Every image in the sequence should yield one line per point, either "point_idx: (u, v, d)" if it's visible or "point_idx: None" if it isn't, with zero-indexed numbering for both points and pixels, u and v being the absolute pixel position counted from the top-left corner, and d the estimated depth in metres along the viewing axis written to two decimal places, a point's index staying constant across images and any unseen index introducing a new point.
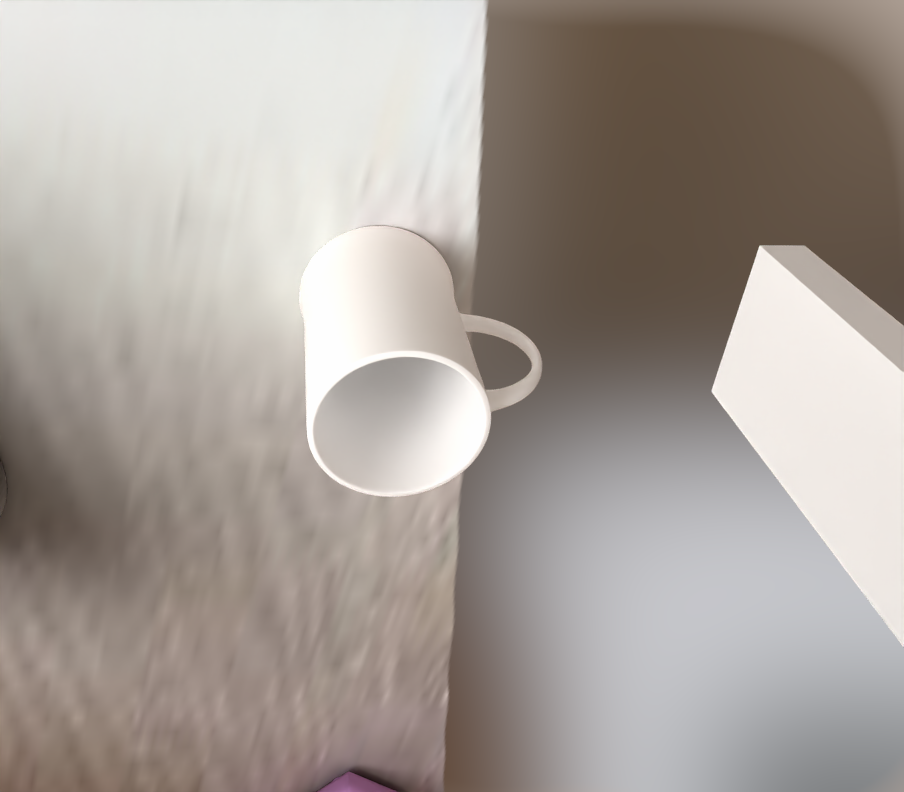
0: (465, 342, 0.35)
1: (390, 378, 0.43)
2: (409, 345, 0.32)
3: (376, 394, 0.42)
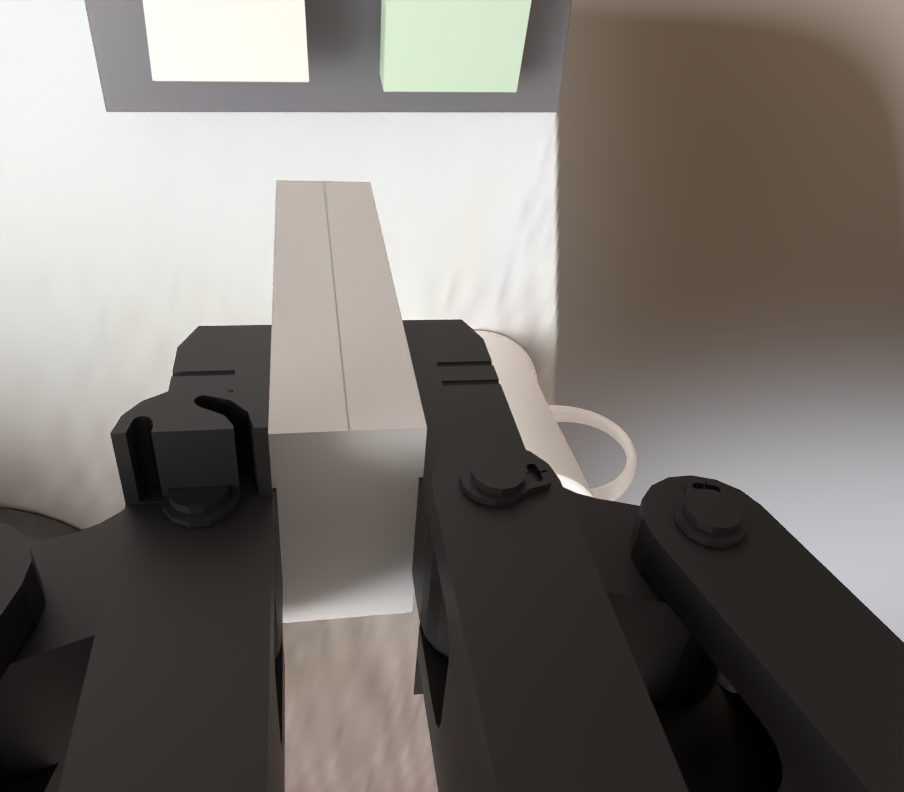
0: (566, 447, 0.37)
1: None
2: None
3: None
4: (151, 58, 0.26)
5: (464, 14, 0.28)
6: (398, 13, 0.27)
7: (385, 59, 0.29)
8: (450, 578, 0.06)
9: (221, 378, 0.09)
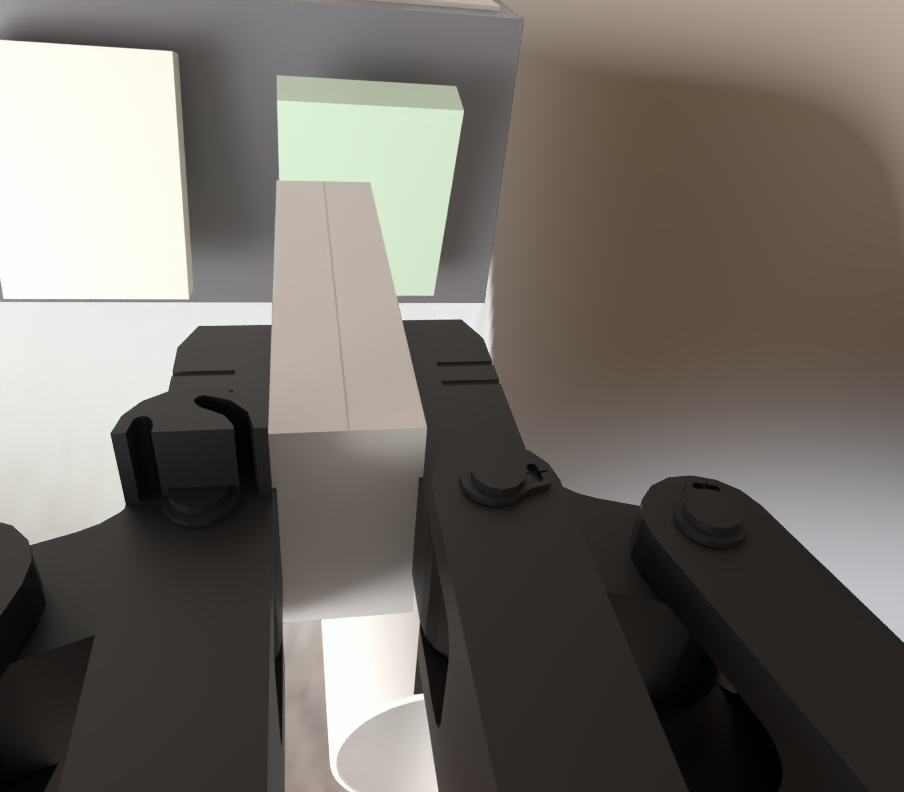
0: None
1: None
2: None
3: None
4: (1, 276, 0.23)
5: None
6: None
7: None
8: (451, 578, 0.06)
9: (221, 378, 0.09)
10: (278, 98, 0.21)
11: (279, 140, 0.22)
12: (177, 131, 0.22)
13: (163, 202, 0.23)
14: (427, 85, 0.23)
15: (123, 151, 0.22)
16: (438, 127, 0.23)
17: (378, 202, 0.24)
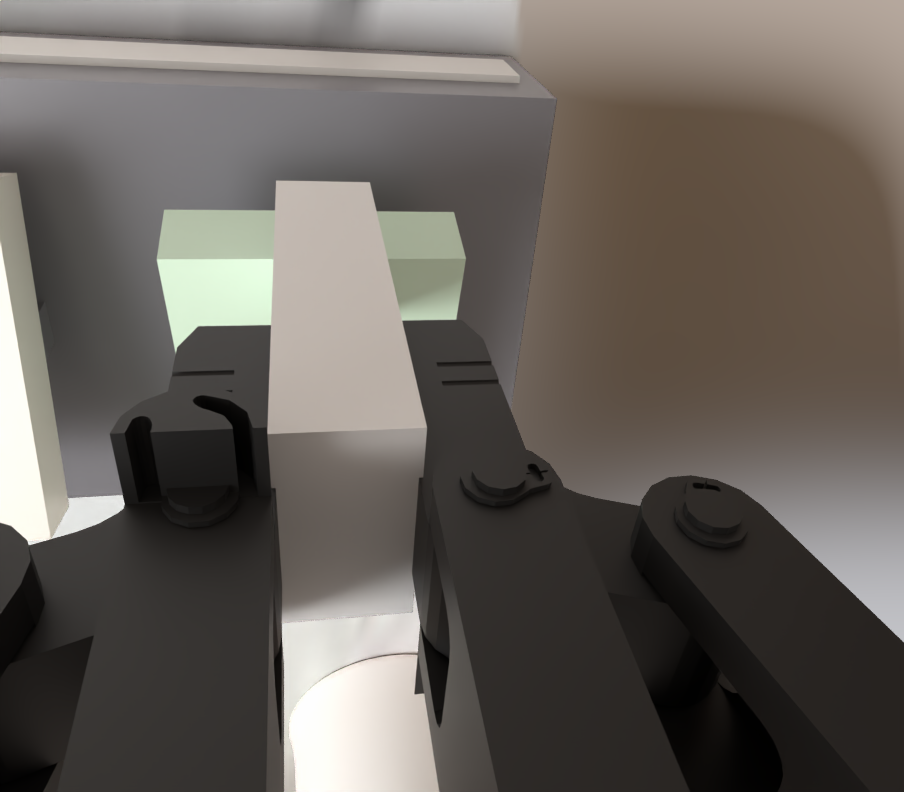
0: None
1: None
2: None
3: None
4: None
5: None
6: None
7: None
8: (451, 578, 0.06)
9: (221, 378, 0.09)
10: (159, 255, 0.13)
11: (170, 313, 0.14)
12: (11, 300, 0.14)
13: None
14: (408, 213, 0.15)
15: None
16: (425, 284, 0.14)
17: None
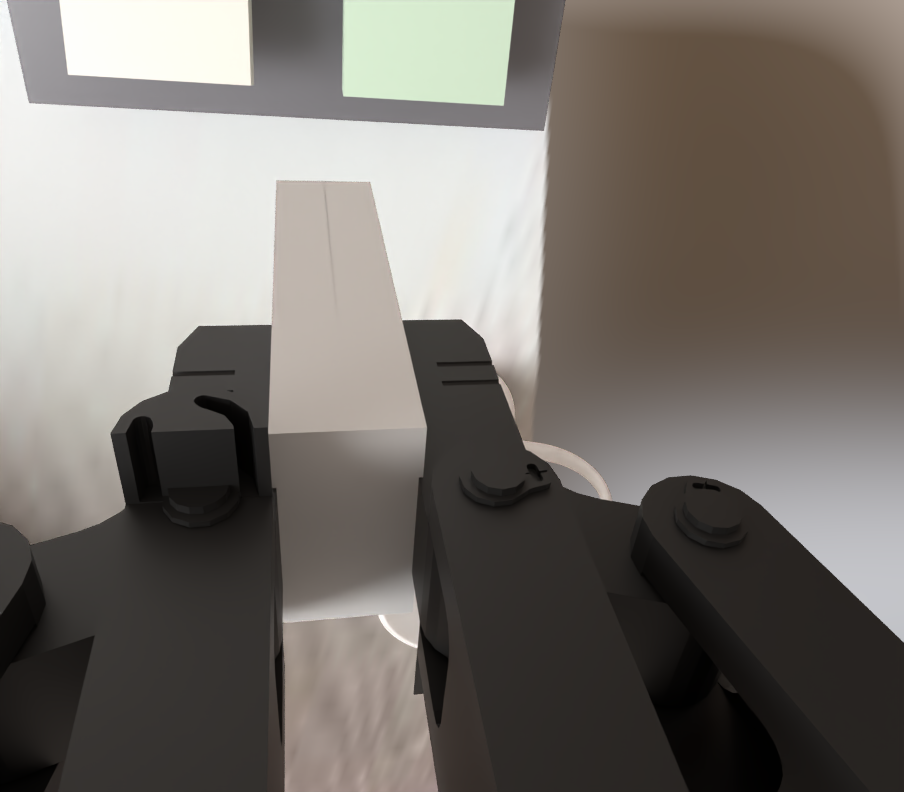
0: None
1: None
2: None
3: None
4: (66, 49, 0.23)
5: (438, 0, 0.24)
6: None
7: (345, 54, 0.24)
8: (450, 578, 0.06)
9: (221, 378, 0.09)
10: None
11: None
12: None
13: None
14: None
15: None
16: None
17: None
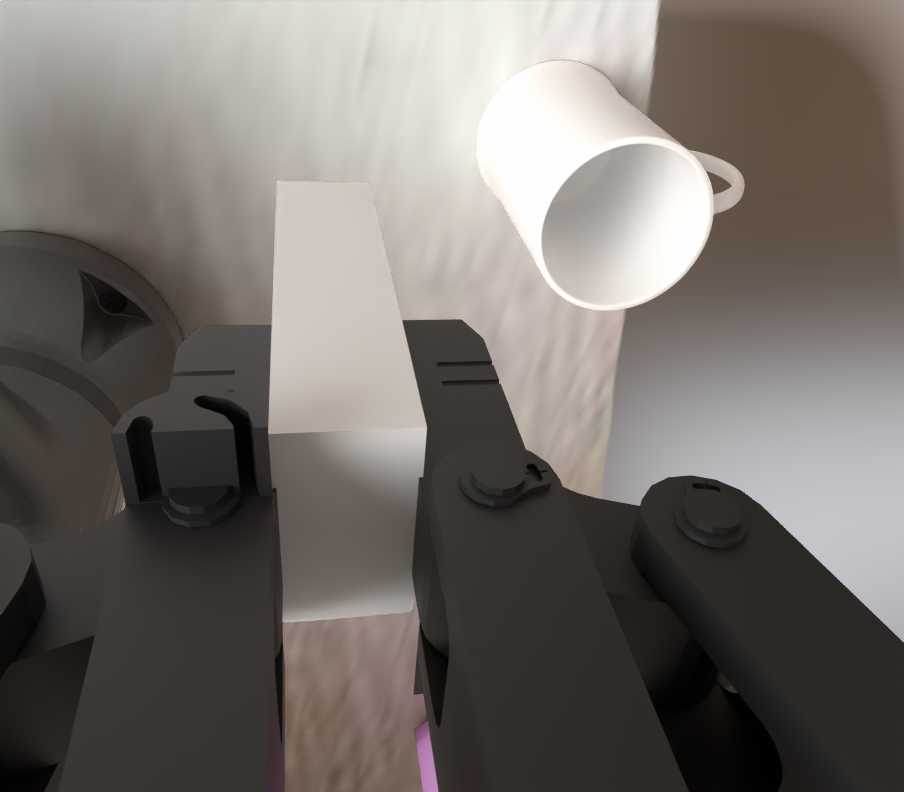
0: None
1: (570, 221, 0.43)
2: (641, 132, 0.32)
3: (561, 234, 0.42)
4: None
5: None
6: None
7: None
8: (450, 578, 0.06)
9: (221, 378, 0.09)
10: None
11: None
12: None
13: None
14: None
15: None
16: None
17: None
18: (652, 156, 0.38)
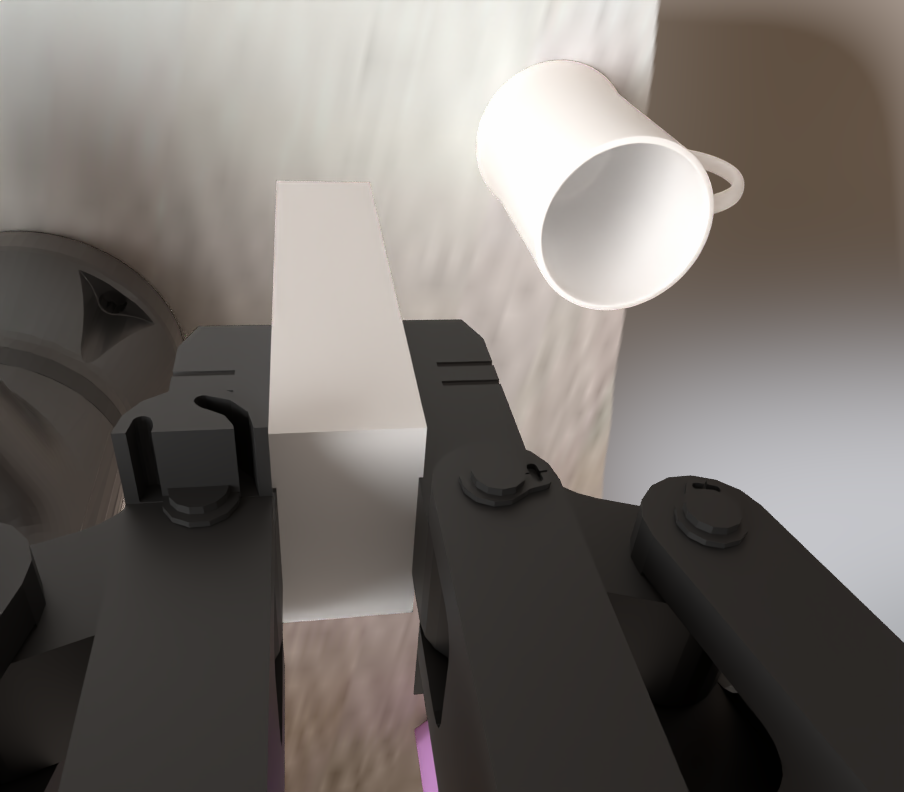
0: None
1: (570, 221, 0.43)
2: (641, 132, 0.32)
3: (561, 233, 0.42)
4: None
5: None
6: None
7: None
8: (450, 578, 0.06)
9: (221, 378, 0.09)
10: None
11: None
12: None
13: None
14: None
15: None
16: None
17: None
18: (652, 155, 0.38)
